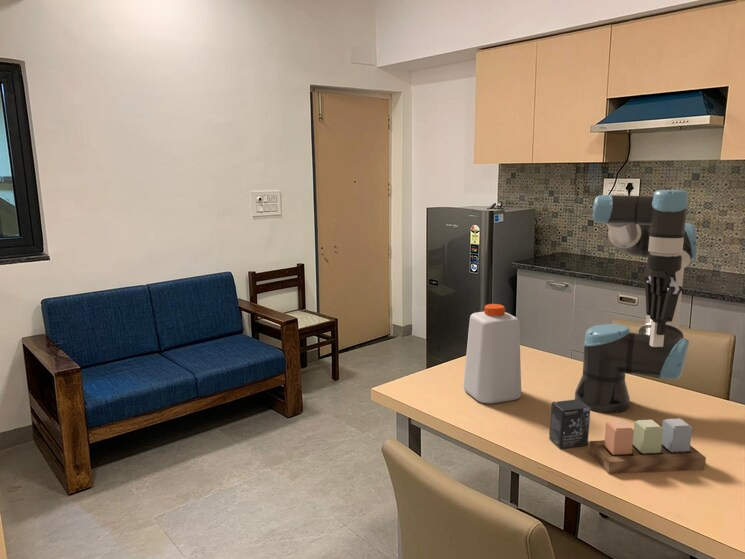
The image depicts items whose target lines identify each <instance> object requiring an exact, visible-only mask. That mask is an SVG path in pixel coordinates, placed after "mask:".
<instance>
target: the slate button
mask: <svg viewBox="0 0 745 559" xmlns="http://www.w3.org/2000/svg"><path fill="white" fill-rule="evenodd" d="M661 428H663V435H662V444H663V445H664V446H665V447H666V448H667V449H668V450H669V451H671V452H683V451H690V445H691V444H692V443H691V441H692V433H693V427H692V426H691V425H689V423H687V422H686V421H684V420H683V419H682V418H667V419H663V420H662V425H661Z"/></svg>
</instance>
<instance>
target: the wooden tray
mask: <svg viewBox="0 0 745 559" xmlns="http://www.w3.org/2000/svg"><path fill="white" fill-rule="evenodd" d="M604 442H605V439H604V440H590V441H589V454H590V455H591V456H592V457H593V458H594V459H595V460H596V461H597V463H598V464H599V465H600V466H601V467H602V468H603V469H604V471H605V472H606V473H607V475H608V474H609V475H612V474H615V475H616V474H632V473H633V474H634V473H635V474H636V473H649V472H650V473H651V472H652V473H655V472H676V471H693V470H694V471H697V470H705V468H706V461H707V457H706V456H705V455H703V454H702V453H701V452H700V451H698V450H697V449H696V448H695V447H693V446H692V444H690V451H683V452H671V451H669V450H668V449H667V448H666V447H665V446H664V445H663V444H662V445H661V453H641V452H640V451H639V450H638V449H637V448H636V447H635V446H634V445H632V454H616V455H613V454H612V453H611V452H610V451H609V450H608V449H607V448H606V447H605V446H604Z"/></svg>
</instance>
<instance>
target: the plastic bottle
mask: <svg viewBox="0 0 745 559" xmlns="http://www.w3.org/2000/svg"><path fill="white" fill-rule="evenodd" d="M483 308H484V309H483V311H478V312H473V313H472V314H470V315H469V316H470V317H469V322H468V323H469V324H468V334H467V346H466V353H465V354H466V356H465V366H464V376H463V385H462V386H463V390H464V391H465V392H466V393H467V394H469V395H470V396H471V397H473V398H474V399H475V400H476V401H477V402H479V403H483V404H488V405H489V404H490V405H491V404H498V403H504V402H511V401H515V400H518V399H519V398H520V397H521V396H522V374H521V373H522V369H521V339H520V338H521V336H520V335H521V334H520V320H519V319H518V317H517V316H514V315H512V314H510V313H509V312H506V307H505V306H504V305H502V304H499V303H489V304H486V305H484V306H483Z"/></svg>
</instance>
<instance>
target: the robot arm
mask: <svg viewBox="0 0 745 559" xmlns="http://www.w3.org/2000/svg"><path fill="white" fill-rule="evenodd" d="M688 193H689V192H687V191H686V190H681V189H680V190H679V189H658V190H656V191H655V192H653V195H626V194H625V195H623V194H622V195H619V194H602V195H601V194H599V195H597V196H595V199H594V202H593V209H592V210H593V211H592V219H593V221H594V222H595V223H598V224H604V225H607V228H608V233H607V236H608V240H609V241H610V243H611V245H612V246H613V247H615V248H616V249H617V250H618V251H620V252H622V253H625V254H627V255H630V256H632V257H638V258H647V263H646V267H647V269H648V270H650V274H649V276H644V277H643V284H644V286H645V288H644V291H645V313H646V316H645V324H643V325H641V326H639V329H638V333H637V332H636V333H635V332H630V331H631V330H630V328H629V327H628V326H627V325H623V324H618V323H617V324H616V323H608V324H607V323H606V324H597V325H593V326H591V327H590V328H588V329H587V330H586V332H585V338H584V342H583V345H584V349H583V350H584V352H583V363H582V364H583V365H582V375H581V377H580V380H579V382H578V384H577V386H576V389H575V392H574V400H575V399H579V400H580V401H582V402H583V403H585V404H586V405H587V406H589V407H590V408H591V409H590V411H594V412H600V413H608V414H609V413H610V414H612V413H613V414H614V413H621V412H624V411H625V412H626V411H627V410H628V409H629V408H630V404H631V403H630V402H631V397H630V395H629V389H628V388H627V387H628V386H627V383H626V374H632V375H637V376H644V377H651V378H656V379H659V380H672V381H673V380H678V379H680V378H681V376H682V374H683V372H684V369H685V368H684V367H685V363H686V359H687V355H688V351H689V346H690V341H689V339H686V338H685V337H684V336H685V335H684V333H683V331H682V330H681V329H680V328H679V326H680V325H679V324H680V316H681V315H680V313H681V303H682V302H681V301H682V293H683V292H682V291H683V284H684V283H683V282H684V281H683V280H684V274H685V273H684V272H685V268H687V267H688V266H689V265H690V263H691V261H695V260H696V258H697V250H698V249H697V247H698V246H697V230H696V226H694V225H693V224H692V223H690V222H686V221H687V214H688V213H687V211H688V205H689V194H688Z"/></svg>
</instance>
